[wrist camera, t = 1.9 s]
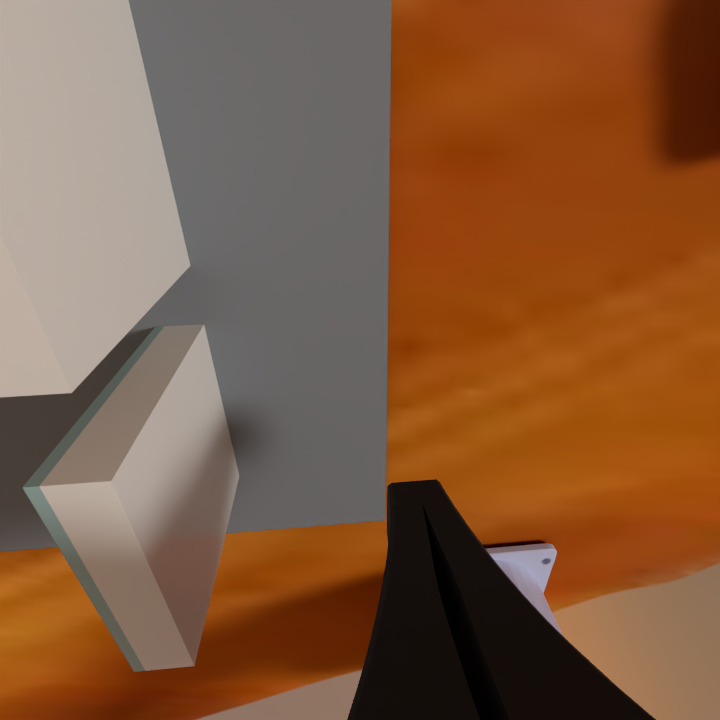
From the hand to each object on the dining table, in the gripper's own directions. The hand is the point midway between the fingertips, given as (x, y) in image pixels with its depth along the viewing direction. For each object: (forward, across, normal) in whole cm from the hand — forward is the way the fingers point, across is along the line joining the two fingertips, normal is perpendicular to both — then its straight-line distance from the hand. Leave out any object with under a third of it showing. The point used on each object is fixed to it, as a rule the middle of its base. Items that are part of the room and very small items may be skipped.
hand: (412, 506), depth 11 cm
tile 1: (+5, +7, 0) cm, 9 cm away
